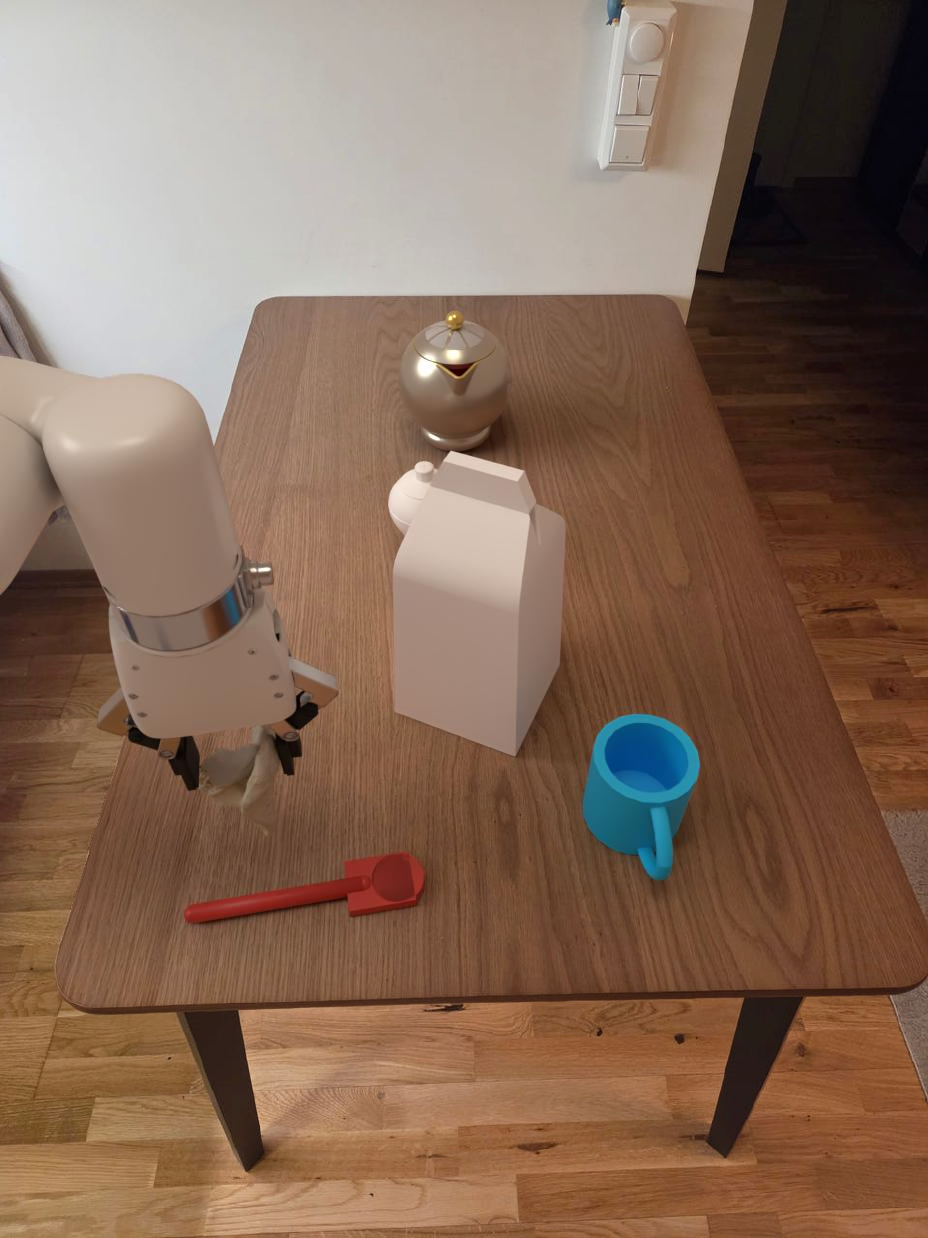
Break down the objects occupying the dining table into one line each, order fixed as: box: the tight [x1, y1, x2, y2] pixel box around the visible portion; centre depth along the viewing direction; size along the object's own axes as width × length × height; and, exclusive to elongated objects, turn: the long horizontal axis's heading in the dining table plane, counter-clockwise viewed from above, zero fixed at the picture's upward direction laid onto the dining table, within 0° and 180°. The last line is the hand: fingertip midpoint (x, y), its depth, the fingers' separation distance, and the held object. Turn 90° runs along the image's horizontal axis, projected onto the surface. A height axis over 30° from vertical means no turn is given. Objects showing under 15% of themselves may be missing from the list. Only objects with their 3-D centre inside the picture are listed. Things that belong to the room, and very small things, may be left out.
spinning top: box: [387, 460, 439, 537], centre depth 89 cm, size 8×8×12 cm
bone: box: [197, 725, 281, 838], centre depth 62 cm, size 9×6×10 cm
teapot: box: [397, 310, 513, 452], centre depth 104 cm, size 18×14×16 cm
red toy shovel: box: [183, 850, 426, 924], centre depth 67 cm, size 18×4×1 cm, turn 100°
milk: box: [392, 451, 567, 758], centre depth 72 cm, size 12×12×26 cm
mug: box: [582, 713, 701, 881], centre depth 68 cm, size 12×8×8 cm
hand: (241, 764), depth 62 cm, fingers closed on bone, 6 cm apart
